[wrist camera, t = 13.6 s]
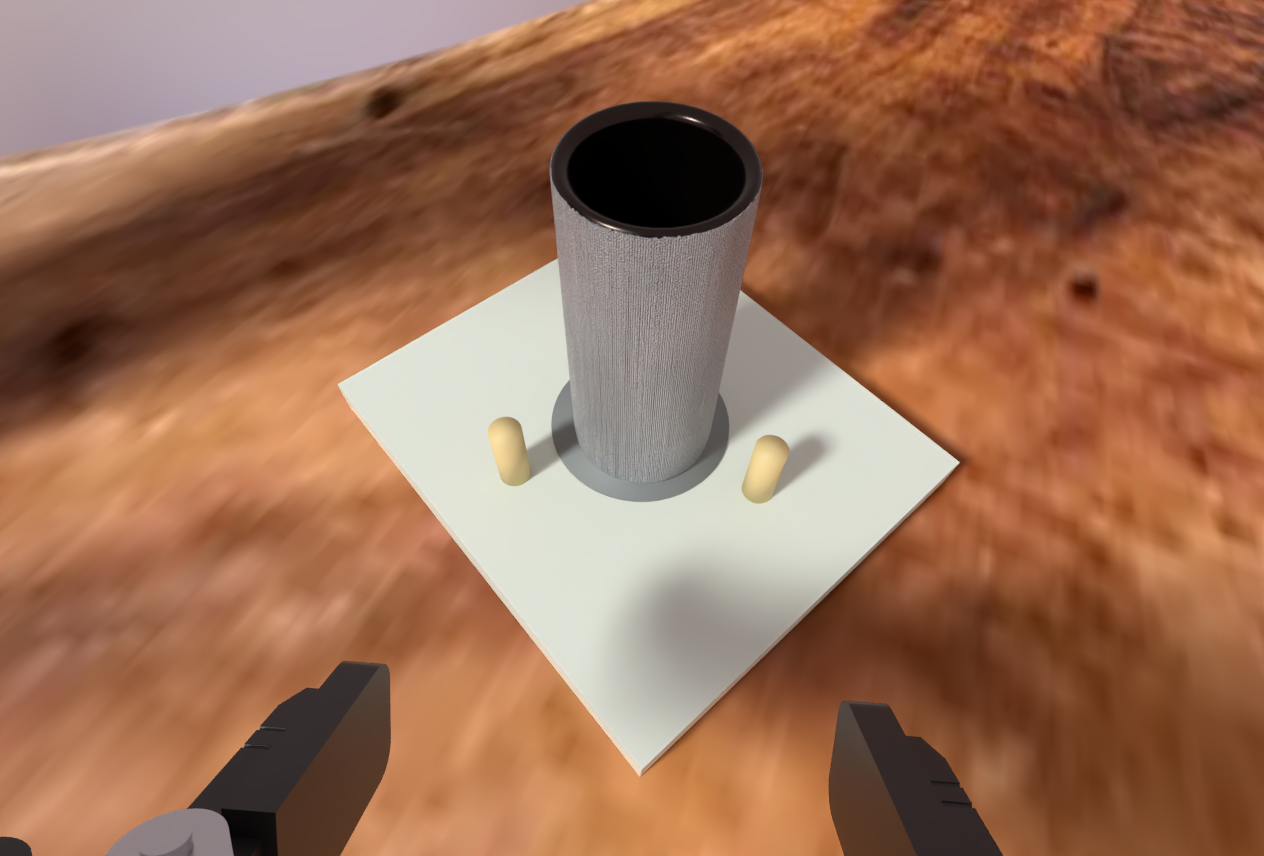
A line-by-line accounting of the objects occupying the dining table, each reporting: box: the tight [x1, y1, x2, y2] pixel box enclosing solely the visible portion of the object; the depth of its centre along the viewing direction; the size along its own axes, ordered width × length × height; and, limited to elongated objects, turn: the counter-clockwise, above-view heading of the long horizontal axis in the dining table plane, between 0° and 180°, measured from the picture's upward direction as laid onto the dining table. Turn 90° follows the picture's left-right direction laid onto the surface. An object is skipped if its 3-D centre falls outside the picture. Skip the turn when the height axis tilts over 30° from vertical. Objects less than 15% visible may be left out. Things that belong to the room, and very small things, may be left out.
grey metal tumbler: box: [550, 101, 763, 483], centre depth 19 cm, size 4×4×10 cm
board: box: [337, 258, 960, 776], centre depth 23 cm, size 16×14×4 cm
